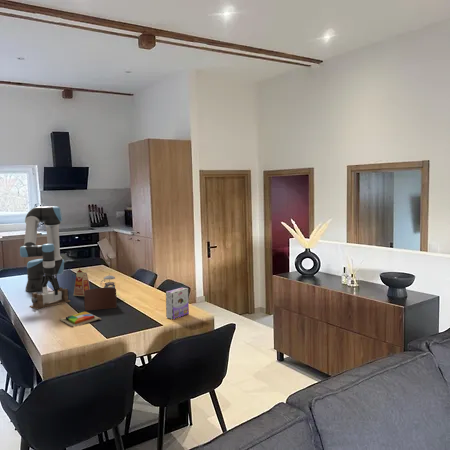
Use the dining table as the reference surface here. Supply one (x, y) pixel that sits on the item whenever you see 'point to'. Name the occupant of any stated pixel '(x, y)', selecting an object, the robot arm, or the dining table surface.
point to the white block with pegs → (48, 297)
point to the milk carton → (81, 283)
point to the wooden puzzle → (79, 319)
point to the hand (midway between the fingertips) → (50, 298)
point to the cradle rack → (40, 305)
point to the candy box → (177, 303)
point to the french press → (111, 277)
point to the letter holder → (100, 299)
